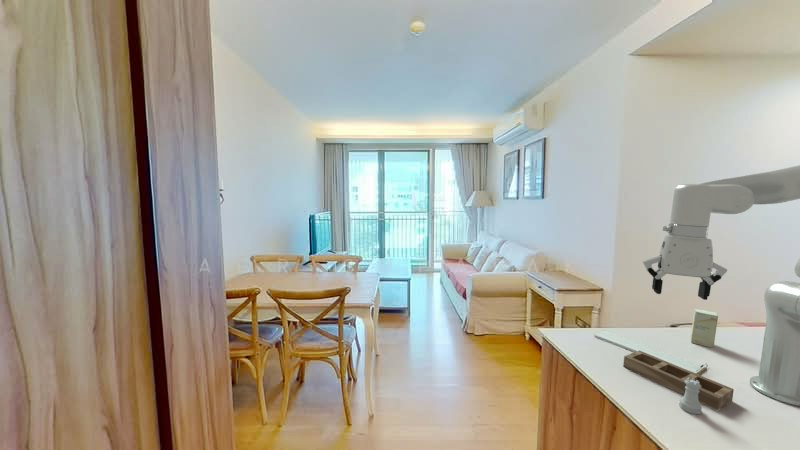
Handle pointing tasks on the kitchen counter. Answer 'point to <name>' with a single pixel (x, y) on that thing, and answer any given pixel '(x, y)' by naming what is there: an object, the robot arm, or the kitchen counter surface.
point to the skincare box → (704, 327)
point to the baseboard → (649, 351)
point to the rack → (678, 378)
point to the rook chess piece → (691, 397)
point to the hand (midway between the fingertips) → (679, 295)
